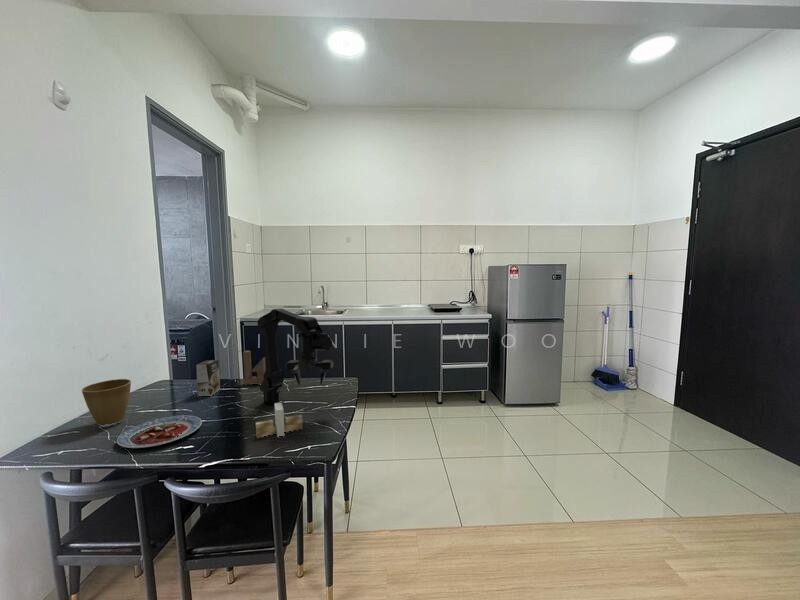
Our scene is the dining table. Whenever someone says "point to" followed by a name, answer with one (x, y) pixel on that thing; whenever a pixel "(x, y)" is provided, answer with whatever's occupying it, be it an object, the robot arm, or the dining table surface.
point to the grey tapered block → (279, 419)
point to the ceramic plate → (159, 431)
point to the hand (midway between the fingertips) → (310, 384)
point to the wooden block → (259, 368)
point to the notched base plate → (268, 428)
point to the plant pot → (107, 400)
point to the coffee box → (208, 377)
